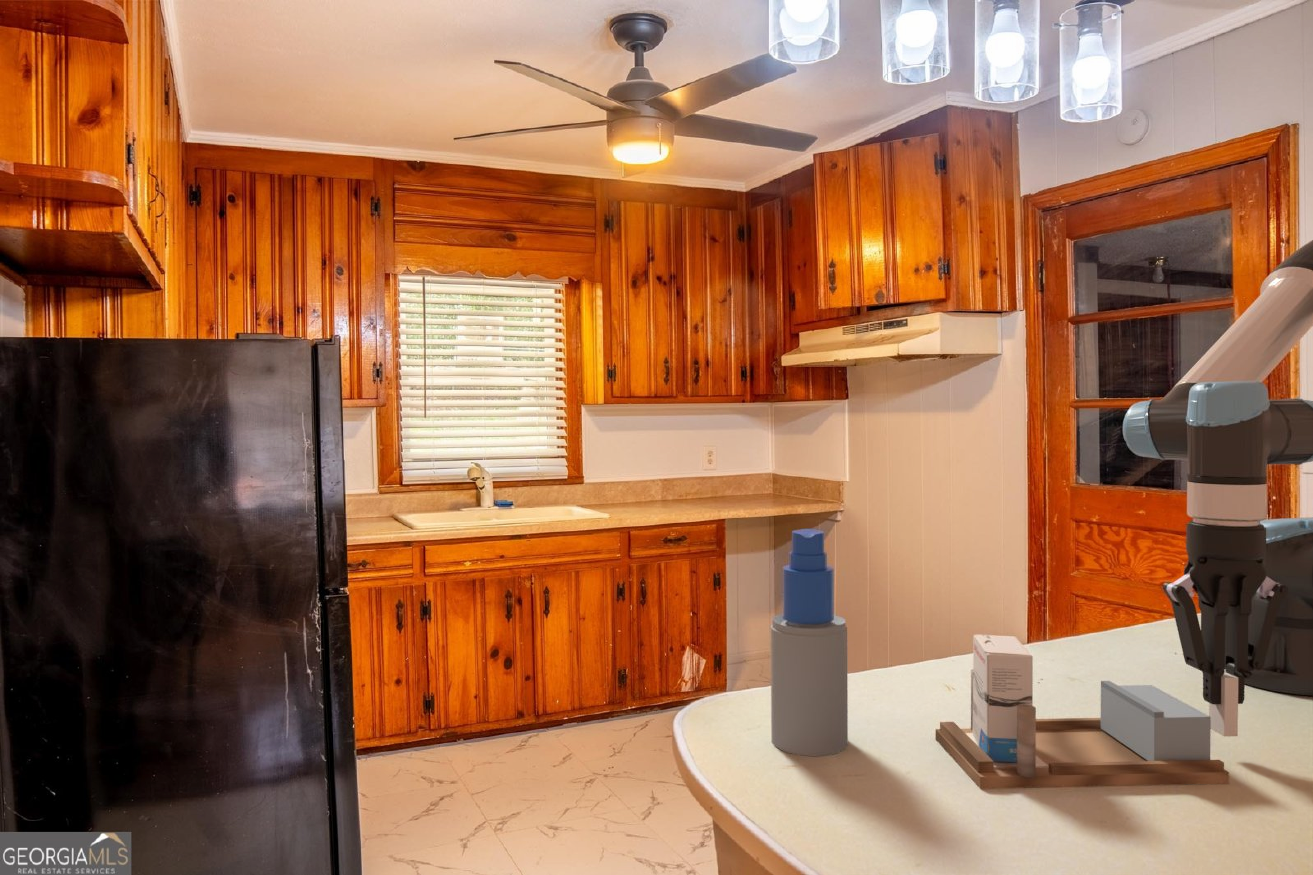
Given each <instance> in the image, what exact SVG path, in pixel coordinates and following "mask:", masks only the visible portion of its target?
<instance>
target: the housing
mask: <svg viewBox="0 0 1313 875" xmlns="http://www.w3.org/2000/svg"><path fill="white" fill-rule="evenodd" d="M1100 718H1101V729H1103V730H1104V731H1105V732H1107V733H1108V734H1110V735H1111V736H1113V737H1114V738H1116V739H1117V740H1119V741H1120V742H1121V743H1123V744H1124V745H1126V746H1127V747H1129V748H1130V749H1132V750H1133V751H1135V752H1136V753H1137V754H1139V755H1140V756H1142V757H1143V758H1145V759H1146V760H1148V761H1176V760H1211V730H1212V729H1211V717H1210V716H1209V714H1207V713H1205V712H1202V711H1201V710H1199V709H1197V708H1195V707H1193V706H1191V705H1189V704H1188V703H1186V702H1184V701H1182V700H1180V699H1178V698H1177V697H1175V696H1172V695H1171V694H1169V693H1167V692H1165V691H1163V690H1162V689H1160V688H1157V687H1156V686H1154V685H1153V684H1133V685H1130V684H1129V685H1125V684H1124V685H1118V684H1115V683H1114V682H1112V681H1110V680H1100Z"/></svg>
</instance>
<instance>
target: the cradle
mask: <svg viewBox="0 0 1313 875" xmlns="http://www.w3.org/2000/svg"><path fill="white" fill-rule="evenodd" d="M1036 713H1037V709H1036V707H1035V706H1034V705H1033V706H1031V705H1025V704H1022V705H1018V706H1017V762H997V761H993V760H992V759H991V758H990V757H989V756H988V755H987V754H986V753H985V752H984V751H983V750H982V749H981V748H980V747H979V745H978V743H977V741H976V740H975V738H974V736H973V668H972V669H971V670H970V728H961V727H960V726H958V725H957V723H956V722H954V721H940V722H939V728H936V729H935V740H936V742H937V743H938V744H940V746H941V747H942V748H943V749H944V750H945V751H946V753H948V755H949V756H950V757H951V758H952V759H953V760H954V762H955V763H956V764H957V765H958V766H960V768H961V769H962V770H963V771H964V772H965V773H966V775H968V777H969V778H970V779H971V780H972V781H973V782H974V783H975V785H977V787H978V788H979V789H1016V788H1017V789H1018V788H1019V789H1021V788H1026V789H1027V788H1061V787H1062V788H1065V787H1067V788H1069V787H1070V788H1071V787H1073V788H1075V787H1078V788H1079V787H1111V786H1112V787H1117V786H1120V787H1121V786H1125V787H1126V786H1170V785H1172V786H1173V785H1175V786H1176V785H1217V784H1218V785H1219V784H1221V785H1222V784H1224V785H1225V784H1226V785H1227V784H1230V783H1229V782H1230V780H1229V778H1230V777H1229V776H1230V774H1229V773H1230V772H1229V771H1228V770H1227V769H1225V762H1224V761H1222V760H1221V759H1210V760H1176V761H1148V760H1146V759H1145V758H1143V757H1142V756H1140V755H1139V754H1137V753H1136V752H1135V751H1133V750H1132V749H1130V748H1129V747H1127V746H1126V745H1124V744H1123V743H1121V742H1120V741H1119V740H1117V739H1116V738H1114V737H1113V736H1111V735H1110V734H1108V733H1107V732H1105V731H1104V730H1103V729H1101V717H1077V718H1075V717H1073V718H1071V717H1069V718H1068V717H1067V718H1063V717H1062V718H1036V717H1037V716H1036V715H1037V714H1036Z"/></svg>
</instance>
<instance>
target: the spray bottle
mask: <svg viewBox="0 0 1313 875" xmlns="http://www.w3.org/2000/svg"><path fill="white" fill-rule="evenodd" d="M788 554H789V563H788V564H787V565H784V566H783V567H782V613H780V614H776V615H775V616H773V617H772V624H771V625H770V691H771V692H770V696H771V698H770V706H771V707H770V708H771V710H770V711H771V712H770V713H771V714H770V716H771V720H770V721H771V743H772V744H773V746H774V747H776V748H777V749H779V750H780V751H783V752H785V753H790V754H793V755H798V756H799V755H800V756H806V757H807V756H809V757H823V756H830V755H835V754H839V753H840V752H843V751H845V750H846V749H847V747H849V745H848V744H849V743H848V738H849V737H848V735H849V734H848V731H849V730H848V729H849V728H848V724H849V723H848V722H849V721H848V720H849V719H848V718H849V717H848V716H849V715H848V714H849V713H848V712H849V711H848V710H849V709H848V706H849V705H848V703H849V702H848V701H849V700H848V693H849V692H848V627H847V626H846V619H845V618H843V617H842V616H839V615H836V614H835V611H834V609H835V607H834V606H835V605H834V604H835V600H834V599H835V598H834V597H835V593H834V592H835V591H834V590H835V588H834V587H835V583H834V582H835V581H834V580H835V578H834V576H835V575H834V574H835V573H834V571H835V569H834V567H833V566H831V565H830V566H829V565H828V558H827V557H828V556H827V554H828V553H827V552H826V551H825V531H823V530H819V529H815V528H801V529H796V530H792V531H791V551H789V553H788Z"/></svg>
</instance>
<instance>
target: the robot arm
mask: <svg viewBox="0 0 1313 875" xmlns="http://www.w3.org/2000/svg"><path fill="white" fill-rule="evenodd" d="M1259 292H1260V295H1259V296H1258V297H1257V298H1256V299H1255V300H1254V302H1252V303H1251V304H1250V306H1249V307H1247V309H1246V310H1245V311H1244V312H1243V313H1242V314H1241V315H1240V316H1239V317H1238V318H1237V319H1236V321H1235V322H1234V323H1233V324H1232V325H1231V326H1230V327H1229V328H1228V329H1227V330H1226V331H1225V332H1224V333H1223V334H1222V335H1221V336H1220V337H1219V339H1217V340H1216V341H1215V343H1214V344H1212V346H1211V347H1209V349H1208V350H1207V351H1206V352H1205V354H1203V355H1202V356H1201V358H1200V359H1199V360H1198V361H1197V362H1196V363H1195V364H1194V365H1193V366H1192V367H1191V368H1190V369H1189V370H1188V371H1187V372H1186V374H1184V376H1182V378H1181V379H1180V380H1179V381H1178V382H1177V383H1176V384H1175V385H1174V386H1173V387H1172V389H1171V390H1170V391H1168V392H1167V394H1166V395H1165V396H1164V397H1163V398H1162V399H1159V400H1156V399H1149V400H1144V401H1143V400H1142V401H1139V402H1136V403H1134V404H1132V405H1131V406H1130V407H1129V409H1127V412H1126V413H1125V415H1124V418H1123V422H1122V435H1123V439H1124V441H1125V442H1126V443H1125V444H1126V446H1127V447H1128V449H1129V450H1130V451H1131V452H1132V453H1133V454H1135V455H1136V456H1139V457H1143V458H1153V459H1160V460H1163V461H1166V460H1177V461H1178V460H1179V461H1182V460H1183V461H1187V474H1186V475H1187V478H1186V481H1187V483H1186V494H1187V495H1186V515H1187V516H1188V517H1190V518H1192V520H1189V521H1188V522H1187V523H1186V527H1185V528H1186V529H1185V530H1186V531H1185V532H1186V533H1185V539H1186V541H1185V542H1186V543H1185V549H1186V550H1185V551H1186V553H1187V557H1188V558H1187V559H1188V560H1187V562H1186V565H1185V567H1184V569H1183V575H1182V576H1181V577H1180V578H1178V579H1176V580H1175V581H1173V582H1170V581H1166V582H1164V583H1163V585H1162V590H1163V593H1165V595H1166V597H1167V598H1168V600H1169V601H1170V603H1171V607H1172V611H1173V615H1174V620H1175V625H1176V629H1177V632H1178V637H1179V641H1180V645H1181V650H1182V654H1183V658H1184V663H1185V664H1186V665H1188V666H1190V667H1192V668H1193V669H1196V670H1199V671H1201V673H1202V697H1203V700H1204V701H1205V702H1207V703H1208V716H1210V717H1211V730H1212V731H1213V732H1215V733H1217V734H1219V735H1220V736H1223V737H1238V735H1239V734H1238V732H1239V725H1238V723H1239V721H1238V720H1239V705H1243V703H1244V701H1245V685H1248V686H1252V687H1254V688H1255V687H1256V688H1260V689H1263V690H1264V689H1265V690H1269V691H1272V692H1279V693H1284V694H1285V693H1286V694H1293V695H1300V696H1301V695H1302V696H1312V697H1313V517H1292V518H1291V517H1290V518H1289V517H1288V518H1287V517H1286V518H1271V519H1267V518H1268V483H1267V482H1268V481H1267V478H1268V477H1267V474H1268V473H1267V471H1268V465H1270V466H1273V465H1295V466H1299V465H1302V464H1306V463H1311V462H1313V400H1309V399H1303V398H1299V397H1296V398H1289V397H1288V398H1282V399H1281V398H1276V399H1275V398H1274V399H1273V398H1272V399H1271V398H1270V399H1269V391H1268V387H1267V386H1266V384H1265V383H1264V382H1263V381H1265V379H1266V378H1267V377H1268V376H1269V375H1270V374H1271V373H1272V371H1273V370H1274V369H1275V368H1276V367H1277V366H1278V365H1279V364H1280V363H1281V361H1282V360H1283V359H1284V358H1285V357H1286V356H1287V355H1288V354H1289V353H1290V352H1291V351H1292V349H1293V348H1294V347H1295V346H1296V345H1297V344H1298V343H1299V341H1301V339H1302V338H1303V337H1304V336H1305V335H1307V333H1308V332H1309V330H1311V328H1312V327H1313V239H1312V240H1310V241H1309V242H1307V243H1305V244H1304V245H1303V246H1301V247H1300V248H1299V249H1297V250H1295V251H1294V252H1293V253H1292V254H1290V255H1289V256H1287V257H1286V258H1285V259H1284V260H1282V262H1281V263H1280V264H1278V265H1277V267H1275V268H1274V269H1273V270H1272V271H1271V272H1270V273H1269V275H1268V276H1267V277H1266V278H1265V279H1264V280H1263V281H1262V283H1261V286H1260V291H1259ZM1194 592H1195V594H1196V595H1197V596H1198V603H1197V604H1198V609H1199V611H1200V622H1199V618H1198V612H1197V608H1196V604H1195V602H1194V599H1193V598H1194V596H1195V594H1194Z"/></svg>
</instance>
